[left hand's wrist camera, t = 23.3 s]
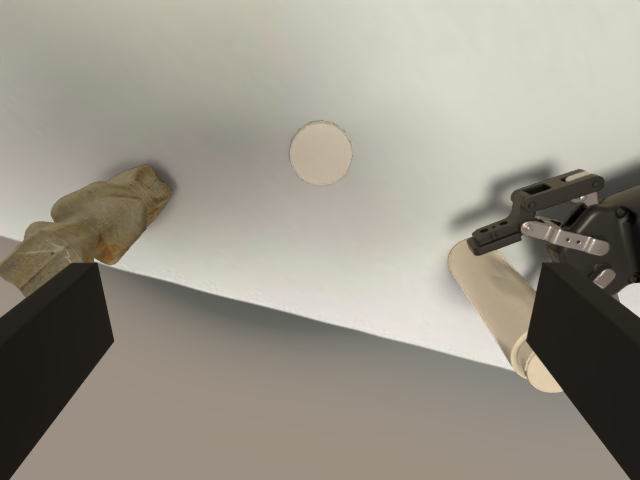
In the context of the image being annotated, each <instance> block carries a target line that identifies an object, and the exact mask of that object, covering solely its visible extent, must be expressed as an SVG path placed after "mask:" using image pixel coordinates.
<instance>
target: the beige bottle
mask: <svg viewBox="0 0 640 480" xmlns="http://www.w3.org/2000/svg"><path fill="white" fill-rule="evenodd" d="M467 240H468V239H466V240H463V241H461V242H460V243H458V244H457V245H456V246H455V247H454V248H453V249H452V251H451V252H450V254H449V258H448V267H449V270H450V272H451V273H452V275H453V276H454V278H455V279H456V281H457V282H458V284H459V286H460V287H461V289H462V290H463V292H464V293H465V295H466V296H467V298H468V299H469V301H470V303H471V304H472V306H473V307H474V309H475V310H476V312H477V313H478V315H479V316H480V318H481V320H482V321H483V323H484V324H485V326H486V327H487V329H488V330H489V332H490V333H491V335H492V337H493V338H494V340H495V341H496V343H497V344H498V346H499V347H500V349H501V350H502V352H503V354H504V355H505V357H506V358H507V360H508V361H509V363H510V364H511V366H512V367H513V369H514V370H515V372H516V373H517V374H518V375H520V376H521V377H523V378H525V379H528V380H529V382H530V383H531V384H532V386H534V387H535V388H537V389H538V390H541V391H544V392H551V393H554V392H561V391H563V390H562V388H561V387H560V386H559V384H558V383H557V382H556V380H555V379H554V378H553V377H552V375H551V374H550V373H549V371H548V370H547V369H546V367H545V366H544V365H543V363H542V362H541V361H540V359H539V358H538V357H537V355H536V354H535V353H534V351H533V350H532V349H531V347H530V346H529V345H528V344H527V342H526V338H527V333H528V328H529V324H530V319H531V314H532V310H533V305H534V300H535V296H536V290H535V289H534V288H533V287H532V286H531V285H530V284H529V283H528V282H527V281H526V280H525V279H524V278H523V277H522V276H521V275H520V274H519V273H518V272H517V271H516V270H515V269H514V268H513V267H512V266H511V265H510V263H509V262H508V261H507V260H506V259H505V258H504V257H503V256H502V255H501V254H500V253H499V252H498V251H497V250H494V251H491V252H489V253H486V254H483V255H480V256H475V255H474V254H473V253H472V252H471V251H470V249H469V247H468V244H467Z"/></svg>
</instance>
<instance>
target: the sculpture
mask: <svg viewBox="0 0 640 480" xmlns="http://www.w3.org/2000/svg"><path fill="white" fill-rule="evenodd" d="M171 195H172V191H171V189H170V188H169V187H168V185H167V184H166V183H162V182H160V180H159V179H158V178H157V177H156V172H155V171H154V170H153V169H152V168H151V167H150V166H149V165H147V164H146V165H143V166H141V167H136V168H133V169H129V170H127V171H124V172H122V173H120V174H118V175H116V176H115V177H113V178H111V179H110V180H109V181H107V182H95V183H92V184H90V185H88V186H86V187H84V188H82V189H80V190H78V191H76V192H73V193H71V194H69V195H66V196H64V197H62V198H61V199H59V200H58V201H57V202H56V203H55V204H54V206H53V207H52V209H51V217H52V219H53V220H54V222H55V223H53V222H43V221H41V222H34V223H32V224H31V225H30V226H29V227H28V228H27V229H26V232H25V236H24V240H23V242H21V243H20V244H19V245H18V246H17V247H16V248H15V249H14V250H13V251H12V252H11V253H10V254H9V255H8V256H7V257H6V258H5V259H4V260H3V261H2V262H1V263H0V276H1V277H2V278H3V279H4V280H5V281H7V282H9V283H12V284H13V285H15V286H16V287H17V288H18V289H19V290H20V291H21V292H22V294H23V295H24V296H25V297H26V298H27V297H28V296H29V295H30V294H32V293H33V292H34V291H36V290H37V289H38V288H39V287H41V286H42V285H43V284H45V283H46V282H47V281H48V280H50V279H51V278H52V277H54V276H55V275H56V274H58V273H59V272H60V271H61V270H63V269H64V268H65V267H67V266H68V265H69V264H70V263H93V262H94V258H95V259H97V260H99V261H100V262H102V263H104V264H107V265H113V264H116V263H117V262H118V261H119V260H120V258H121V257H122V256H123V255H124V254H125V252H126V251H128V249H129V248H130V247H131V245H132V244H133V243H134V242H135V241H136V240H137V239H138V238H139V237H140V236H141V234H142V233H143V232H144V231H145V230H146V228H147V226H148V225H149V224H150V223H152V222H153V221H154V220H155V219H156V217H157V216H158V215H159V214H160V212H161V211H162V210H163V208H164V207H165V205H166V203H167V201H168V200H169V198H170V197H171Z"/></svg>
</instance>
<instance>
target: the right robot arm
mask: <svg viewBox="0 0 640 480" xmlns="http://www.w3.org/2000/svg"><path fill="white" fill-rule="evenodd" d="M603 186H604V179H603V178H602V177H600V176H597V175H595V174H592V173H590V172H587V171H584V170H582V169H578V170H574V171H571V172H568V173H565V174H562V175H559V176H556V177H553V178H550V179H547V180H544V181H541V182H538V183H535V184H532V185H529V186H526V187H523V188H520V189H517V190H515V191H514V192H513V193H512V194H511V201H512V202H513V206H512V212H511V214H510V215H509V216H508V217H507V218H505V219H503V220H500V221H498V222H495V223H492V224H490V225H487V226H485V227H482V228H479V229H477V230H476V231H475V232H473V233H472V236H473V237H471V238H469V239H468V240H467V244H468V247H469V249H470V251H471V252H472V253H473V254H474V255H475V256H480V255H483V254H486V253H489V252H491V251H494V250H497V249H499V248H502V247H505V246H507V245H510V244H513V243H515V242H518V241H521V240H522V239H521V235H525V236H529V237H533V238H537V239H542V240H545V241H548V242H549V243H548V244H546V248H547V252H548V254H549V255H550V257H551V258H552V263H570V264H571V265H572V266H573V267H575V268H576V269H577V270H579V271H580V272H581V273H582V274H584V275H585V276H586V277H588V278H589V279H590V280H592V281H593V282H594V283H595V284H597V285H598V286H599V287H601V288H602V289H603V290H604V291H606V292H607V293H608V294H610V295H611V296H612V297H613V298H615V299H616V300H617V301H619V298H618V294H617V293H618V292H619V291H621V290H622V289H623V288H624V287H626V286H627V285H629V284H632V283H640V185H637V186H634V187H632V188H629V189H626V190H624V191H621V192H619V193H616V194H613V195H611V196H608V197H606V198H605V199H603V200H602V201H599V198H598V191H599V190H601V189H602V187H603ZM569 200H570V201H571V202H573V203H580V204H579V205H577V206H576V207H575V209H574V210H573V211H572V212H571V213H570V215H569V216H568V217H567V218H566V219H565V220H564V222H563V221H559V220H555V219H551V218H547V217H542V216H535V213H536V211H539V210H542V209H545V208H548V207H551V206H554V205H557V204H560V203H563V202H566V201H569ZM619 302H620V301H619Z"/></svg>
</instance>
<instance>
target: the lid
mask: <svg viewBox="0 0 640 480" xmlns="http://www.w3.org/2000/svg"><path fill="white" fill-rule="evenodd" d="M289 154H290V161H291V166H292V167H293V169H294V171H295V173H296V174H297V175H298V176H299V177H300V178H301V179H302V180H304V181H305V182H307V183H309V184H312V185H316V186H326V185H330V184H333V183H335V182H337V181H338V180H340V179H341V178H342V177H343V176H344V175H345V174H346V172H347V171H348V169H349V167H350V164H351V160H352V157H353V155H352V149H351V142H350V141H349V140H348V138H347V136H346V134H345V131H343V130H342V129H340V128H339V127H338V126H336V125H335V123H334V124H332V123H330V122H325V121H323V120H322V121H316V122H312V123H311V122H310V123H309V124H307V125H305V126H304V127H303V128H300V129H299V131H298V133H297V134H296V135H295V137H294V138H293V139H292V144H291V148H290V152H289Z"/></svg>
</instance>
